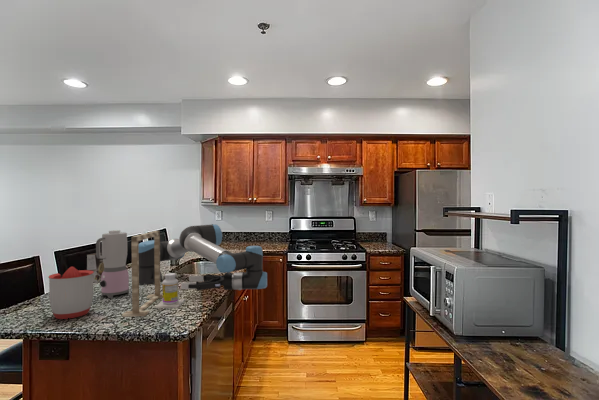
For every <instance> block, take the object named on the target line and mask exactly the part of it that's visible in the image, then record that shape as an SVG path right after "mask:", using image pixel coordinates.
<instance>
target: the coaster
mask: <svg viewBox="0 0 599 400" xmlns="http://www.w3.org/2000/svg"><path fill="white" fill-rule="evenodd" d="M184 302H186V299H185V298H181V299H179V298H178V302H177V303H175V304H169V305H167V304H163V299H162V300H161V301H160V302H159V303H157V304H156V305H155V306H154V307H155V309H173V308H174V309H175V308H176V309H177V308H181V306H182V305H183V303H184Z"/></svg>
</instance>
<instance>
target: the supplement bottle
mask: <svg viewBox="0 0 599 400" xmlns="http://www.w3.org/2000/svg"><path fill="white" fill-rule="evenodd" d="M176 277H177V274H176V272H175V273H174V272H170V273H165V274H164V279H163V280H162V281H161V283H162V294H163V298H162V300H163V304H167V305H169V304H175V303H177V302H178V299H179V280H178V279H177V278H176Z"/></svg>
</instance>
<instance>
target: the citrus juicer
mask: <svg viewBox="0 0 599 400" xmlns="http://www.w3.org/2000/svg"><path fill="white" fill-rule="evenodd" d="M93 273H94V271H90V270H87V269H84V270H80V269H79V270H78V269H77V268H76V267H75V266H70V267H69V268H67V269H66V270H65V272H64V273H63V274H62V275H61V274H60V273H58V272H56V273H52V274H50V275H49V276H48V284H49V285H48V286H49V289H48V291H49V293H48V294H49V306H50V309H51V312H52V314H53V317H54V318H55V319H59V320H63V319H66V320H69V319H74V318H78V317H82V316H87V314H88V313H90V310H91V308H92V303H93V300H94V299H93V298H94V282H93ZM68 318H69V319H68Z"/></svg>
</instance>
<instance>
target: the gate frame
mask: <svg viewBox="0 0 599 400" xmlns="http://www.w3.org/2000/svg"><path fill="white" fill-rule="evenodd" d="M160 232H161V231H160V230H153V231H150V232H146V233H145V232H144V233H142V234H138V235H134V236H130V237H131V310H126V311H125V312H123V313H122V314H121V316H122V318H123V317H124V318H126V317H127V318H128V317H129V318H130V317H146V316H147V315H149V314H150V310H146V309H147V308H148V307H150V306H151V305H153V304H154V302H156V301H157V300H158V299H163V293H162V291H161V281H160V271H161V262H160V242H161V233H160ZM151 238H153V240H154V262H155V283H154V294H153V293H150V294H148V295H147V296H146V299H147V300H148V299H149V300H148V301H146V302H144V304H142V305H141V306H140V284H139V242H140V241H144V240H146V239H151Z"/></svg>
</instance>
